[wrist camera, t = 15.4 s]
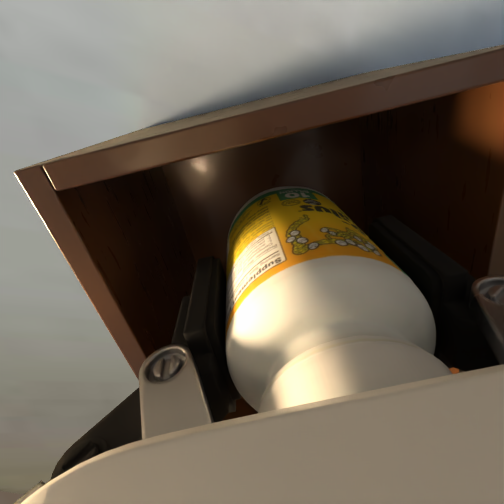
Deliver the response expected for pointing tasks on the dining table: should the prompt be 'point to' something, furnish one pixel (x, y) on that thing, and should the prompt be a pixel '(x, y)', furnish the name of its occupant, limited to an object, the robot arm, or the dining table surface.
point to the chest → (279, 183)
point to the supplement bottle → (318, 306)
